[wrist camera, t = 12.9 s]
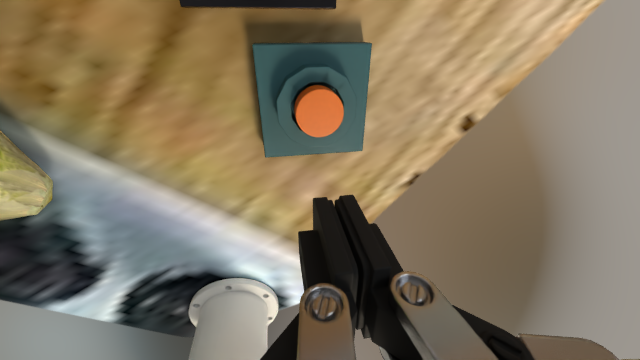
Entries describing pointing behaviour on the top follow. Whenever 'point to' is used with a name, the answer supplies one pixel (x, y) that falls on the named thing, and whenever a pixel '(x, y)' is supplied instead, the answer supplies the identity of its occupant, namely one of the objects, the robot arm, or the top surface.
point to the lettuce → (21, 183)
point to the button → (318, 111)
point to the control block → (300, 73)
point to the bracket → (260, 4)
